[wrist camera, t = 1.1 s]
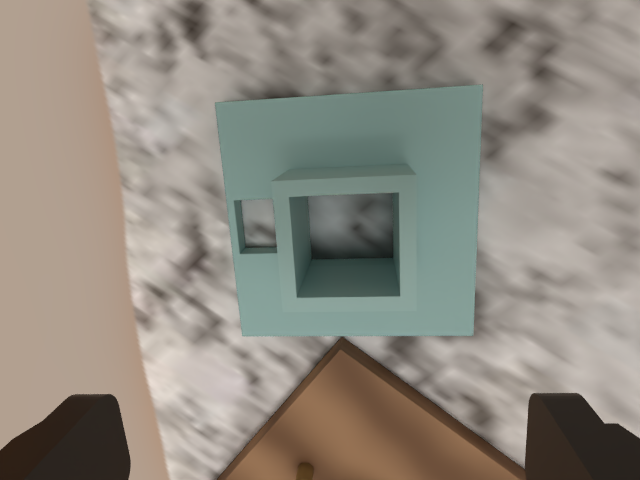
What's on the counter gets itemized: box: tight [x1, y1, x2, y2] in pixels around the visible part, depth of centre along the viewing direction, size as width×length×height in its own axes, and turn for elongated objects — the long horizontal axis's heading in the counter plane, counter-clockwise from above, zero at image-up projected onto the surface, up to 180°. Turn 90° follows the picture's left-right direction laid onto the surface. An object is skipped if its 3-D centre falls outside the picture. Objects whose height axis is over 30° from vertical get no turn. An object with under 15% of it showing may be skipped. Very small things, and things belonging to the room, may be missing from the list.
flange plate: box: [215, 85, 483, 336], centre depth 21 cm, size 13×13×6 cm
